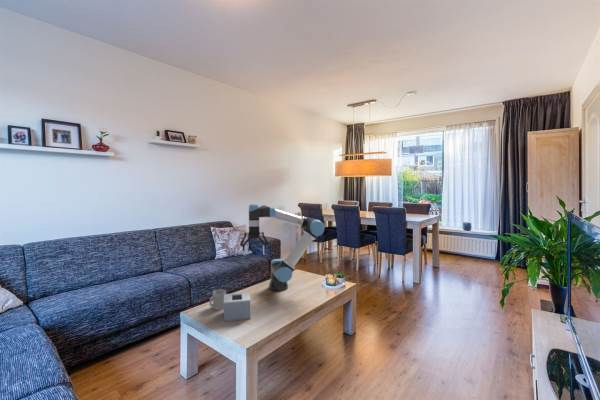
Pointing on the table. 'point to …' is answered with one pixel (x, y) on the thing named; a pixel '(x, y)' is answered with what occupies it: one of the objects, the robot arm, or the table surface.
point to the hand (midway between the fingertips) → (254, 254)
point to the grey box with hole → (237, 306)
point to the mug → (218, 299)
